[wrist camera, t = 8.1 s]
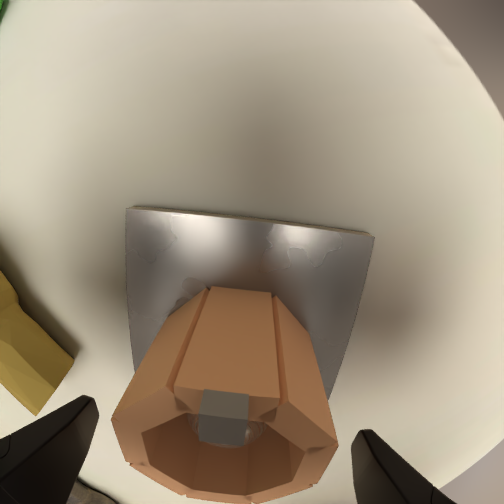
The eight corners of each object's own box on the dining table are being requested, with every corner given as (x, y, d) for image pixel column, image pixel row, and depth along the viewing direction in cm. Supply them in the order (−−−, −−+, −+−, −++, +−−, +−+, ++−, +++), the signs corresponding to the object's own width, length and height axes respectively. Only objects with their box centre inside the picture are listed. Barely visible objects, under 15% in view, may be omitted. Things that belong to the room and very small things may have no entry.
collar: (292, 406, 13) (304, 520, 7) (168, 392, 13) (130, 500, 7) (319, 295, 12) (371, 419, 5) (164, 278, 12) (82, 385, 5)
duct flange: (367, 232, 12) (442, 282, 6) (311, 428, 15) (323, 507, 9) (133, 205, 12) (49, 237, 6) (146, 409, 15) (116, 483, 9)
